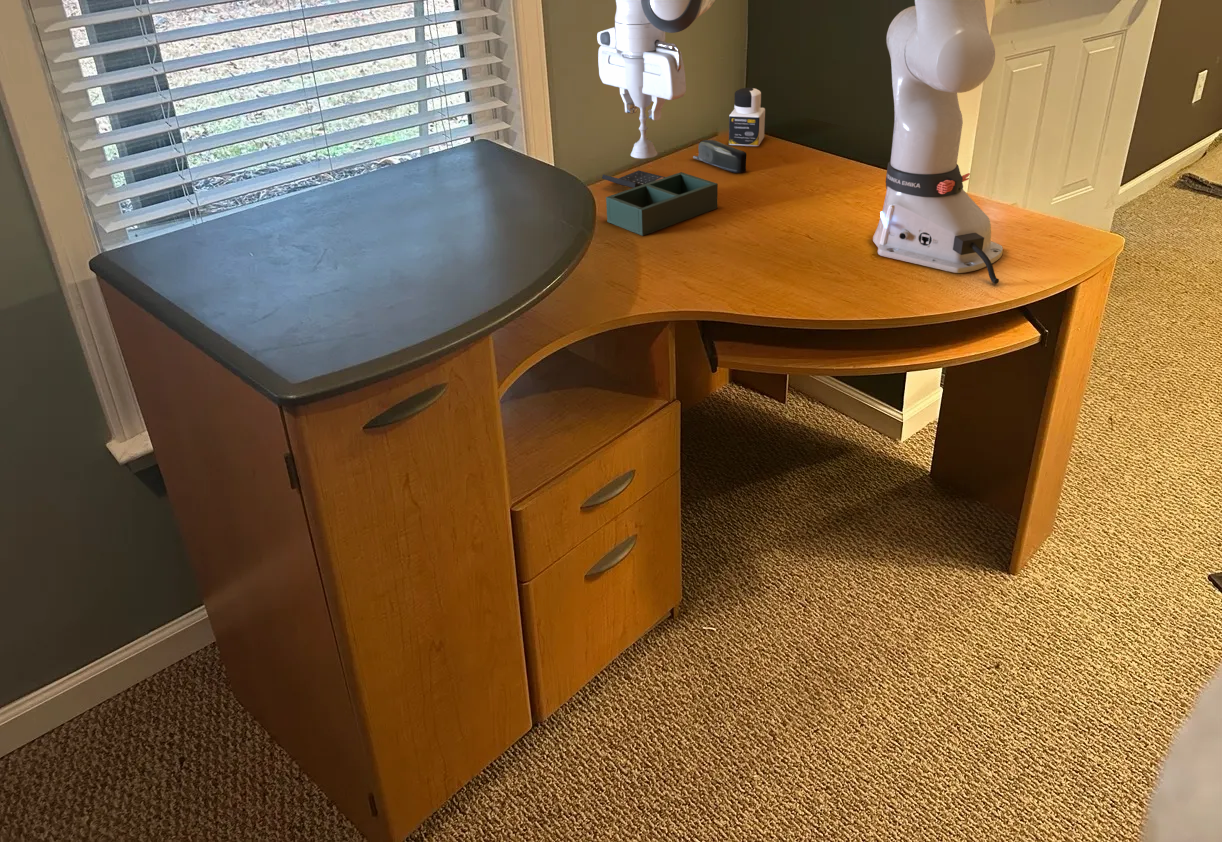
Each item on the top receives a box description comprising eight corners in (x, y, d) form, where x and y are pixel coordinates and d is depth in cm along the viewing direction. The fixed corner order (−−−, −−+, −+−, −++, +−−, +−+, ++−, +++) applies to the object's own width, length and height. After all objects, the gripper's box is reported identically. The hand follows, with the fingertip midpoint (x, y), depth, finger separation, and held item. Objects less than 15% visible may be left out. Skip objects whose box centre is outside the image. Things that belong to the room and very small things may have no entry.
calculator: (671, 182, 211) (671, 168, 209) (634, 197, 204) (634, 183, 202) (638, 174, 216) (638, 160, 215) (602, 188, 210) (601, 174, 208)
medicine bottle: (728, 145, 231) (729, 93, 224) (734, 136, 237) (736, 85, 230) (758, 146, 229) (760, 94, 222) (764, 137, 234) (766, 86, 228)
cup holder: (717, 208, 196) (717, 183, 194) (642, 236, 186) (641, 210, 183) (681, 196, 203) (681, 171, 201) (607, 222, 193) (605, 197, 190)
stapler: (749, 150, 212) (700, 134, 221) (739, 153, 210) (691, 137, 220) (748, 172, 214) (700, 156, 224) (738, 176, 213) (690, 159, 223)
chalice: (650, 162, 181) (647, 60, 171) (618, 157, 184) (614, 57, 174) (669, 150, 186) (667, 51, 177) (638, 146, 189) (635, 48, 180)
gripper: (694, 41, 169) (694, 122, 176) (617, 27, 182) (620, 103, 190) (667, 48, 165) (668, 130, 173) (590, 33, 179) (595, 109, 186)
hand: (642, 116), depth 181 cm, fingers closed on chalice, 5 cm apart
